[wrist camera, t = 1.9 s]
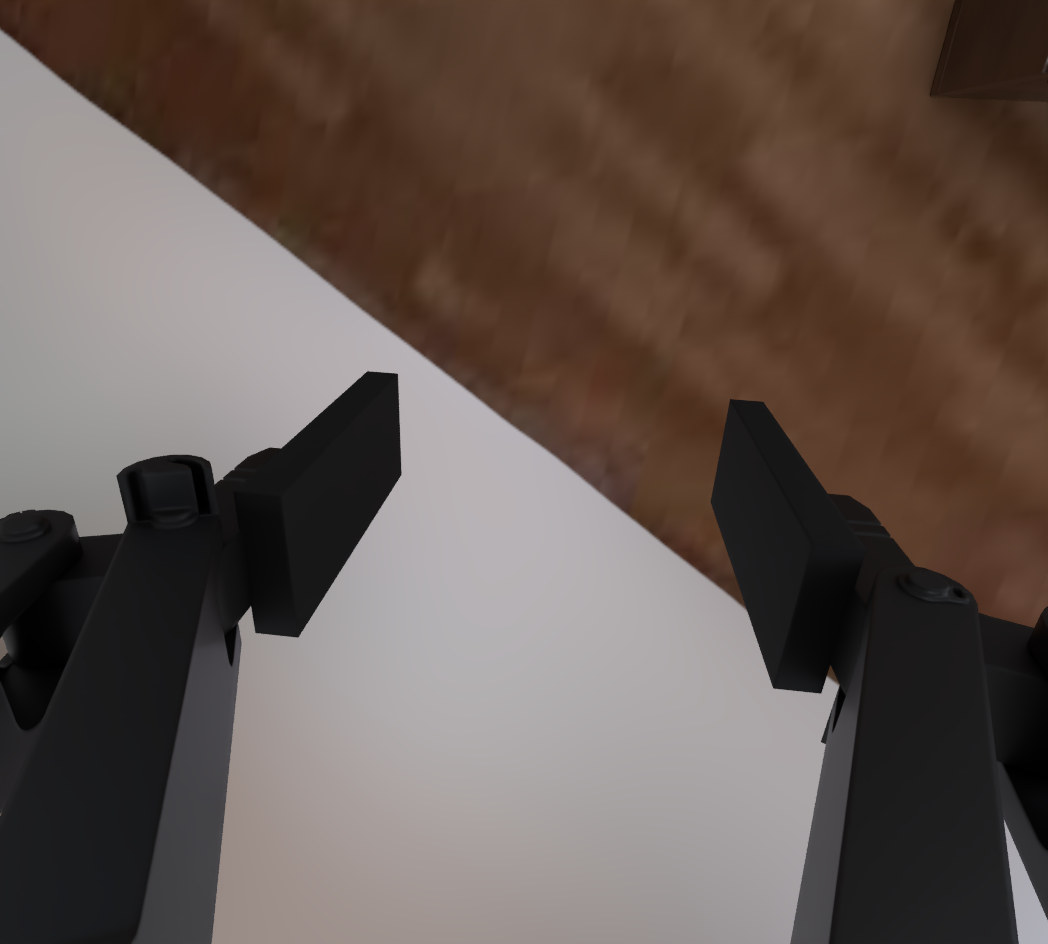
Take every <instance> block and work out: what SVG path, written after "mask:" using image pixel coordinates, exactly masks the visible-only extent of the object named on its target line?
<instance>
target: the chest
mask: <svg viewBox="0 0 1048 944" xmlns="http://www.w3.org/2000/svg"><path fill="white" fill-rule="evenodd" d="M1047 78H1048V0H956V2H955V6H954V9H953V13H952V17H951V20H950V24H949V28H948V31H947V35H946V39H945V42H944V46H943V50H942V54H941V57H940V61H939V65H938V68H937V72H936V76H935V79H934V83H933V87H932V90H931V94H930V96H931V97H950V98H973V99H995V100H1018V101H1041V102H1048V85H1047V84H1046V81H1047Z"/></svg>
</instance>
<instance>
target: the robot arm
mask: <svg viewBox="0 0 1048 944" xmlns="http://www.w3.org/2000/svg"><path fill="white" fill-rule="evenodd" d="M400 476H401V451H400V424H399V393H398V374H394V373H381V372H366V373H365V374H364V375H363V376H362V377H361V378H360V379H358V380H357V381H356V382H355V383H354V384H353V385H352V386H351V387H350V388H348V389H347V390H346V391H345V392H344V393H343V394H342V395H341V396H340V397H338V398H337V399H336V400H335V401H334V402H333V403H332V404H331V405H329V406H328V407H327V408H326V409H325V410H324V411H323V412H322V413H320V414H319V415H318V416H317V417H316V418H315V419H314V420H313V421H312V422H311V423H309V424H308V425H307V426H306V427H305V428H304V429H303V430H302V431H300V432H299V433H298V434H297V435H296V436H295V437H294V438H293V439H291V440H290V441H289V442H288V443H287V444H286V445H285V446H284V447H282V448H281V449H280V448H268V449H265V450H263V451H260V452H258V453H256V454H253V455H251V456H249V457H247V458H246V459H245V460H244V461H243V462H241V463H240V464H239V465H238V466H236V467H235V470H232V471H230V472H229V473H228V474H227V475H226V476H225V477H223V480H220V481H218V482H217V483H216V484H215V485H214V479H213V473H212V468H211V464H210V462H209V461H207V460H206V459H204V458H202V457H197V456H192V455H167V456H160V457H153V458H150V459H146V460H143V461H139V462H136V463H134V464H132V465H130V466H128V467H126V468H124V469H123V470H122V471H121V472H120V473H119V474H118V475H117V480H118V484H119V488H120V492H121V497H122V501H123V505H124V509H125V513H126V517H127V522H128V524H127V527H126V529H125V531H124V533H123V534H114V535H101V536H87V537H79V535H78V532H77V528H76V525H75V521H74V519H73V516H72V515H70V514H68V513H66V512H64V511H56V510H39V511H36V510H27V511H22V513H20V512H16V513H12V514H9V515H7V516H6V517H5V518H2V519H0V638H1V637H3V640H4V642H5V645H6V648H7V650H8V653H7V654H6V655H5V656H4V657H3V658H2V659H1V660H0V813H1V812H2V813H1V816H0V944H211V942H212V933H213V923H214V913H215V903H216V893H217V882H218V873H219V863H220V853H221V842H222V833H223V823H224V813H225V802H226V792H227V783H228V773H229V762H230V753H231V743H232V733H233V723H234V713H235V701H236V693H237V683H238V673H239V662H240V653H241V637H240V631H239V626H238V622H239V620H240V619H241V618H242V616H243V615H244V614H245V613H246V611H247V610H248V609H249V607H250V606H251V607H252V614H253V620H254V626H255V632H256V633H261V634H272V635H280V636H289V637H299V635H300V634H301V632H302V631H303V629H304V627H305V626H306V624H307V623H308V621H309V620H310V618H311V616H312V615H313V613H314V612H315V610H316V609H317V607H318V605H319V604H320V602H321V601H322V599H323V598H324V596H325V594H326V593H327V591H328V590H329V588H330V587H331V585H332V583H333V582H334V580H335V578H336V577H337V575H338V574H339V572H340V571H341V569H342V568H343V566H344V564H345V563H346V561H347V560H348V558H349V557H350V555H351V553H352V552H353V550H354V549H355V547H356V545H357V544H358V542H359V541H360V539H361V538H362V536H363V534H364V533H365V531H366V530H367V528H368V527H369V525H370V523H371V522H372V520H373V519H374V517H375V516H376V514H377V512H378V510H379V509H380V508H381V506H382V504H383V503H384V501H385V500H386V498H387V497H388V495H389V493H390V492H391V490H392V489H393V487H394V486H395V484H396V482H397V481H398V479H399V478H400ZM711 504H712V507H713V510H714V513H715V516H716V519H717V522H718V525H719V528H720V531H721V534H722V537H723V540H724V543H725V546H726V549H727V552H728V555H729V558H730V561H731V564H732V567H733V570H734V573H735V576H736V579H737V582H738V585H739V588H740V591H741V594H742V597H743V600H744V603H745V606H746V609H747V612H748V615H749V617H750V620H751V623H752V626H753V629H754V632H755V635H756V638H757V641H758V644H759V647H760V650H761V653H762V656H763V659H764V662H765V665H766V668H767V671H768V674H769V677H770V680H771V683H772V686H773V688H775V689H784V690H793V691H803V692H813V693H821V692H822V689H823V686H824V683H825V680H826V676H827V673H828V670H829V667H830V665H831V667H832V669H833V671H834V673H835V675H836V677H837V680H838V682H839V684H840V686H839V689H838V692H837V695H836V698H835V701H834V704H833V707H832V710H831V713H830V716H829V719H828V722H827V725H826V728H825V731H824V734H823V737H822V740H821V742H822V743H825V744H826V747H825V752H824V759H823V764H822V769H821V775H820V781H819V786H818V792H817V798H816V803H815V808H814V814H813V820H812V825H811V831H810V837H809V842H808V848H807V853H806V859H805V865H804V870H803V876H802V882H801V887H800V893H799V898H798V905H797V909H796V916H795V921H794V927H793V932H792V938H791V943H790V944H1019V942H1018V934H1017V927H1016V917H1015V909H1014V901H1013V893H1012V885H1011V876H1010V868H1009V860H1008V852H1007V843H1006V836H1005V827H1004V820H1005V822H1006V825H1007V827H1008V829H1009V831H1010V834H1011V836H1012V838H1013V841H1014V843H1015V845H1016V848H1017V850H1018V852H1019V855H1020V857H1021V859H1022V862H1023V864H1024V866H1025V869H1026V871H1027V873H1028V875H1029V878H1030V880H1031V882H1032V885H1033V887H1034V889H1035V892H1036V894H1037V896H1038V899H1039V901H1040V903H1041V906H1042V908H1043V910H1044V913H1045V915H1046V917H1047V919H1048V606H1047V607H1046V608H1045V609H1044V611H1043V612H1042V613H1041V615H1040V617H1039V619H1038V622H1037V624H1036V626H1035V628H1032V627H1028V626H1024V625H1021V624H1017V623H1013V622H1009V621H1005V620H1002V619H998V618H994V617H990V616H987V615H984V614H981V613H978V605H977V603H976V601H975V599H974V597H973V595H972V594H971V593H970V592H969V591H968V590H967V589H966V588H964V587H963V586H962V585H961V584H959V583H958V582H956V581H954V580H952V579H950V578H948V577H947V576H945V575H942V574H940V573H937V572H934V571H931V570H928V569H926V568H921V567H915V566H914V565H913V563H912V562H911V561H910V559H909V558H908V557H907V556H906V554H905V553H904V552H903V551H902V549H901V548H900V547H899V546H898V544H897V543H896V542H895V541H894V539H893V538H890V534H889V533H888V532H887V530H886V529H885V528H884V527H883V526H881V523H880V522H879V520H878V519H877V518H876V516H875V515H874V514H873V513H872V511H871V510H870V509H869V508H867V507H866V506H864V505H863V504H861V503H859V502H858V501H856V500H855V499H853V498H852V497H850V496H848V495H836V494H827V492H826V491H825V490H824V488H823V487H822V485H821V484H820V482H819V481H818V479H817V478H816V477H815V475H814V474H813V472H812V471H811V469H810V468H809V467H808V465H807V464H806V462H805V461H804V459H803V458H802V457H801V455H800V454H799V452H798V451H797V449H796V448H795V447H794V445H793V444H792V442H791V441H790V439H789V438H788V437H787V435H786V434H785V432H784V431H783V429H782V428H781V427H780V425H779V424H778V422H777V421H776V419H775V418H774V417H773V415H772V414H771V412H770V411H769V409H768V408H767V407H766V405H765V404H764V402H759V401H745V400H732V399H730V403H729V409H728V414H727V419H726V424H725V430H724V435H723V440H722V445H721V451H720V456H719V461H718V466H717V472H716V477H715V482H714V487H713V493H712V498H711ZM1003 818H1004V819H1003Z"/></svg>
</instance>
